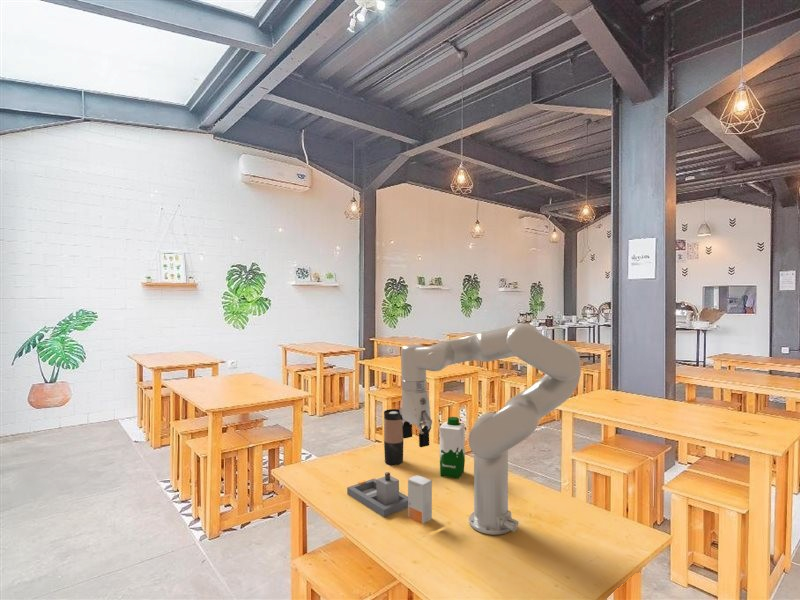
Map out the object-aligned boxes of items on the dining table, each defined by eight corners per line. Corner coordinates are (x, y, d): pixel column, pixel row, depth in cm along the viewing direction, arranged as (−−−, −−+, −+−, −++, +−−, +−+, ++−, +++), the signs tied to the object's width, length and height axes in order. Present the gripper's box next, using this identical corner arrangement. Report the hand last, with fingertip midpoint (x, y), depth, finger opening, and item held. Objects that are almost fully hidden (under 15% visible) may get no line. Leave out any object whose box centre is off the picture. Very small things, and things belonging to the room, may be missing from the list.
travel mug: (407, 460, 179) (406, 410, 178) (396, 467, 172) (396, 415, 172) (391, 457, 183) (390, 408, 182) (380, 463, 176) (379, 412, 176)
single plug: (399, 505, 140) (398, 473, 140) (386, 510, 137) (386, 478, 137) (389, 499, 144) (389, 468, 144) (376, 504, 141) (376, 472, 141)
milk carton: (466, 471, 168) (466, 417, 167) (460, 480, 159) (460, 424, 159) (444, 467, 171) (443, 415, 171) (436, 476, 163) (436, 422, 162)
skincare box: (407, 518, 133) (407, 478, 133) (417, 513, 136) (416, 474, 136) (423, 526, 129) (423, 484, 129) (432, 520, 132) (432, 480, 132)
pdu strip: (412, 507, 140) (412, 496, 140) (384, 519, 133) (383, 507, 133) (374, 486, 155) (374, 476, 155) (347, 495, 148) (347, 485, 148)
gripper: (440, 388, 131) (442, 447, 131) (410, 379, 146) (411, 432, 146) (418, 392, 127) (420, 452, 128) (389, 382, 142) (391, 436, 143)
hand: (415, 441), depth 137 cm, fingers open, 9 cm apart
